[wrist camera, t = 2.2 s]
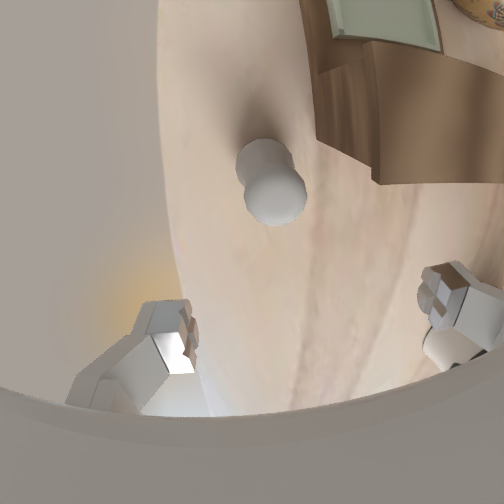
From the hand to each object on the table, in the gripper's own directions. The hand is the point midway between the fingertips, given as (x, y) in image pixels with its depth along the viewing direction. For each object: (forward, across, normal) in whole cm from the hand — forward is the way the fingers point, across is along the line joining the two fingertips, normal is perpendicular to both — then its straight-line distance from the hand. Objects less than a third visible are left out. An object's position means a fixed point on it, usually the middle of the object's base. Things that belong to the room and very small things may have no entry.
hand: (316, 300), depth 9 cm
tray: (+20, -14, -18) cm, 30 cm away
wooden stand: (+23, -14, -12) cm, 30 cm away
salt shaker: (+24, 0, 0) cm, 24 cm away
